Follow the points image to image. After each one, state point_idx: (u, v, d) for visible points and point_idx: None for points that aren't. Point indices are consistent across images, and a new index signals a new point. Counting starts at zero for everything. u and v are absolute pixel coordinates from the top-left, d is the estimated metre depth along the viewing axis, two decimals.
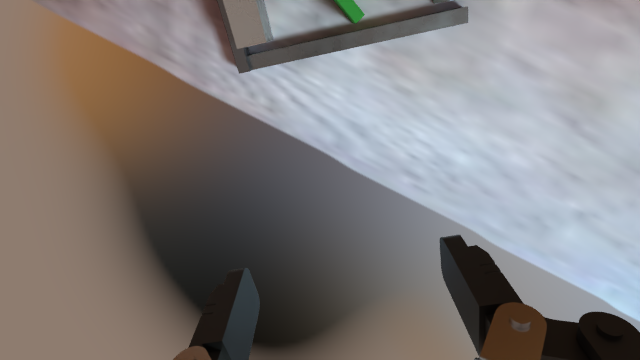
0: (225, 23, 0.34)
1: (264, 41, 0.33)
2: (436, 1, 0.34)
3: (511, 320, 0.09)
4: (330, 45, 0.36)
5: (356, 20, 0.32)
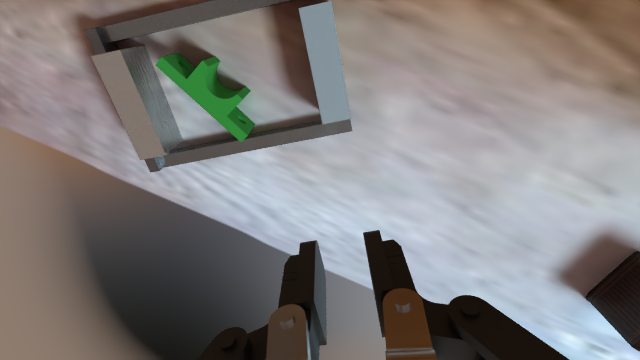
0: None
1: (163, 154, 0.37)
2: None
3: (394, 303, 0.10)
4: (231, 148, 0.40)
5: (241, 140, 0.37)
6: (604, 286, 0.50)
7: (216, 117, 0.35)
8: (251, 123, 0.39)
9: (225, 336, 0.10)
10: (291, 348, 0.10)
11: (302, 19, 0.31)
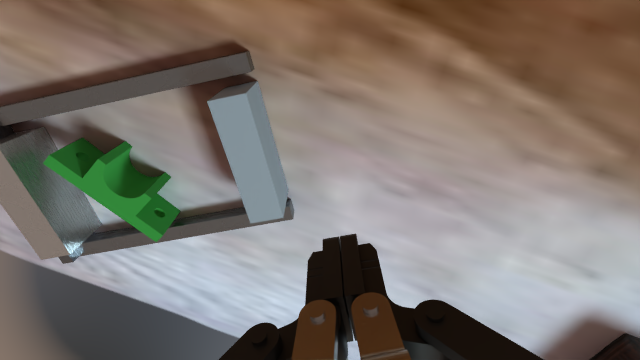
0: None
1: (67, 253, 0.31)
2: None
3: (362, 307, 0.10)
4: None
5: (155, 239, 0.31)
6: None
7: (123, 217, 0.30)
8: (174, 212, 0.34)
9: (257, 331, 0.10)
10: (325, 344, 0.10)
11: (213, 113, 0.25)
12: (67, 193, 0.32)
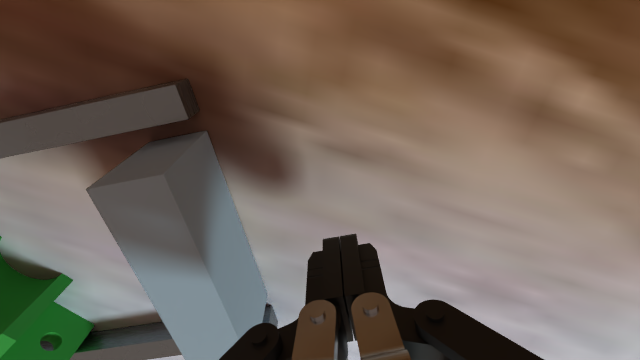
0: None
1: None
2: None
3: (362, 307, 0.10)
4: None
5: None
6: None
7: None
8: (83, 330, 0.22)
9: (257, 331, 0.10)
10: (325, 344, 0.10)
11: (102, 210, 0.13)
12: None
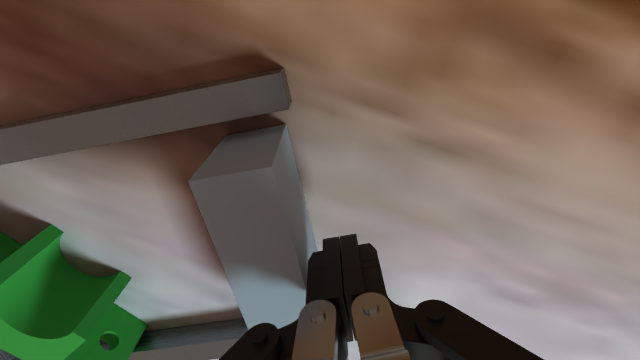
0: None
1: None
2: None
3: (362, 307, 0.10)
4: None
5: None
6: None
7: None
8: (137, 329, 0.21)
9: (257, 331, 0.10)
10: (325, 343, 0.10)
11: (201, 204, 0.12)
12: None
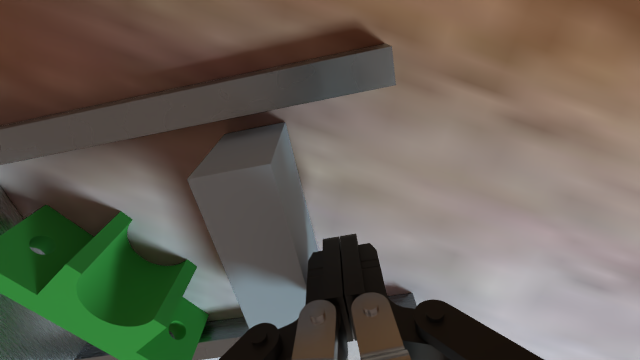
0: None
1: None
2: None
3: (362, 307, 0.10)
4: None
5: None
6: None
7: (114, 353, 0.17)
8: (200, 319, 0.21)
9: (257, 331, 0.10)
10: (325, 344, 0.10)
11: (200, 202, 0.12)
12: None
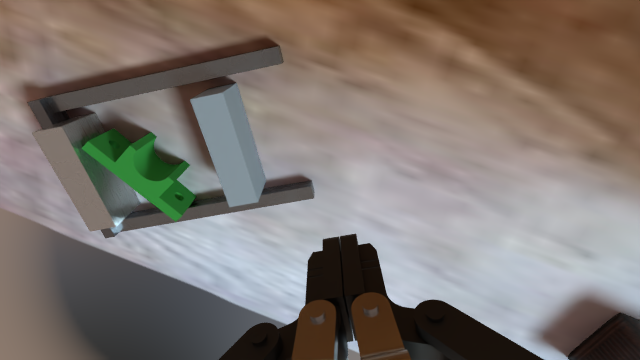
0: None
1: (114, 226, 0.35)
2: None
3: (362, 307, 0.10)
4: (189, 214, 0.38)
5: (175, 219, 0.35)
6: (587, 347, 0.48)
7: (148, 198, 0.34)
8: (191, 196, 0.38)
9: (257, 331, 0.10)
10: (325, 344, 0.10)
11: (195, 109, 0.30)
12: None
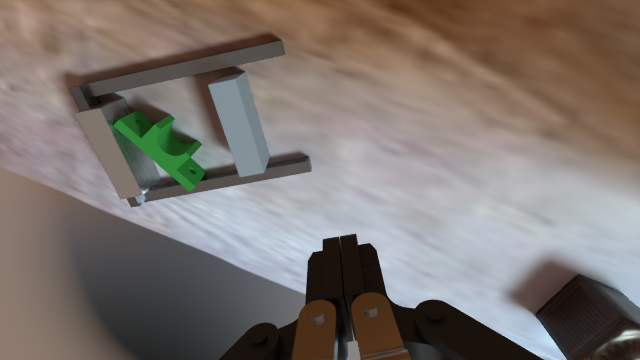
0: None
1: (141, 194, 0.41)
2: None
3: (362, 307, 0.10)
4: (204, 186, 0.44)
5: (189, 189, 0.42)
6: (551, 305, 0.54)
7: (167, 170, 0.40)
8: (202, 172, 0.45)
9: (257, 331, 0.10)
10: (325, 344, 0.10)
11: (212, 93, 0.36)
12: (139, 149, 0.42)
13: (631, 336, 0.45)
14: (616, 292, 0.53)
